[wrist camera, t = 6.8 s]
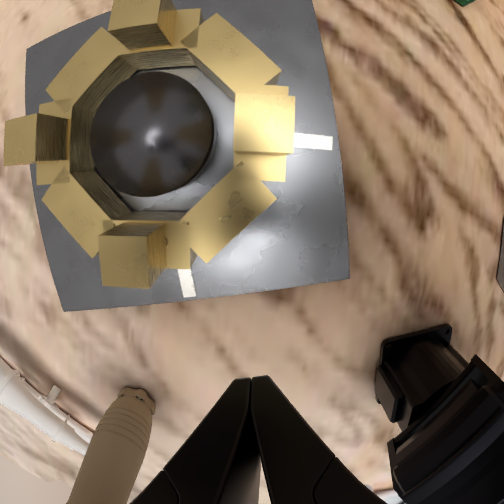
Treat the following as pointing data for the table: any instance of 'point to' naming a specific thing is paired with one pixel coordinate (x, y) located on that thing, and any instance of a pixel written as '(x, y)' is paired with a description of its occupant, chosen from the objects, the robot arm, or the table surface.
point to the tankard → (501, 265)
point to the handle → (115, 451)
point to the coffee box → (464, 2)
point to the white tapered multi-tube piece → (41, 410)
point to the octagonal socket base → (82, 165)
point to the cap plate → (279, 227)
